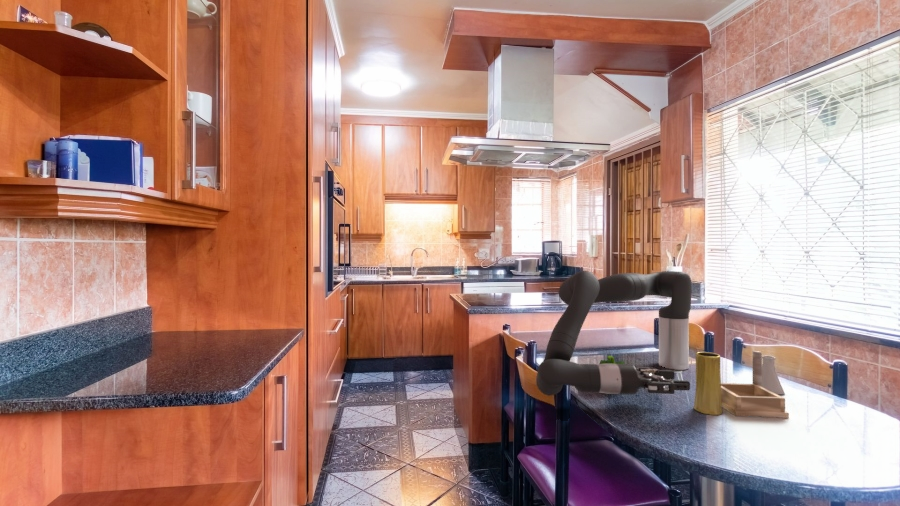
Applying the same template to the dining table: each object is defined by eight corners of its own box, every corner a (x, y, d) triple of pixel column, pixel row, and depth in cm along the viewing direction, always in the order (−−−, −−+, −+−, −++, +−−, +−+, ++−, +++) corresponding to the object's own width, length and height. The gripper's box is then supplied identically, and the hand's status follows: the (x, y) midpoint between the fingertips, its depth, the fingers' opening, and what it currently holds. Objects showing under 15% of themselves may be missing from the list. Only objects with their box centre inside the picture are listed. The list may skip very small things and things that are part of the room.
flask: (790, 396, 115) (790, 360, 115) (761, 394, 116) (761, 359, 116) (775, 388, 122) (775, 354, 122) (748, 386, 123) (748, 353, 123)
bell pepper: (615, 383, 126) (615, 350, 126) (634, 391, 118) (634, 357, 118) (591, 386, 124) (591, 352, 124) (610, 395, 116) (610, 359, 116)
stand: (708, 398, 113) (709, 350, 113) (758, 399, 112) (758, 351, 112) (735, 416, 101) (736, 362, 101) (792, 418, 100) (792, 363, 100)
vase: (697, 404, 109) (697, 350, 109) (725, 410, 104) (725, 354, 104) (690, 410, 104) (690, 354, 104) (718, 417, 100) (718, 358, 100)
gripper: (624, 372, 99) (695, 373, 98) (607, 357, 114) (669, 358, 112) (624, 403, 100) (695, 405, 98) (607, 384, 114) (669, 385, 112)
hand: (681, 380), depth 105 cm, fingers open, 8 cm apart
